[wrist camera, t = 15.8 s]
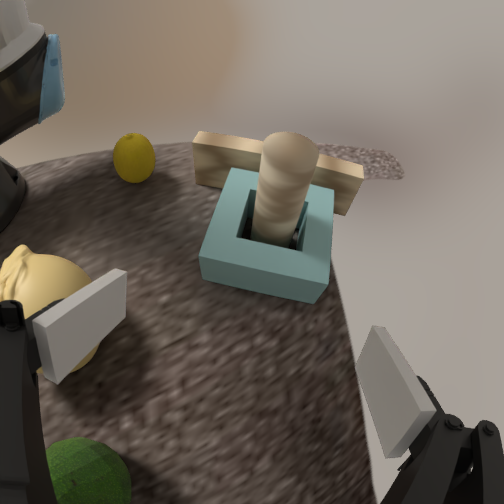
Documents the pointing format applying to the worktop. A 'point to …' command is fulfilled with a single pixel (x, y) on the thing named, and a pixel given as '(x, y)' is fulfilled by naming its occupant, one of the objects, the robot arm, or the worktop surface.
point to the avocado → (88, 473)
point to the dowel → (282, 186)
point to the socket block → (264, 255)
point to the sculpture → (41, 283)
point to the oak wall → (249, 158)
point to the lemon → (134, 158)
